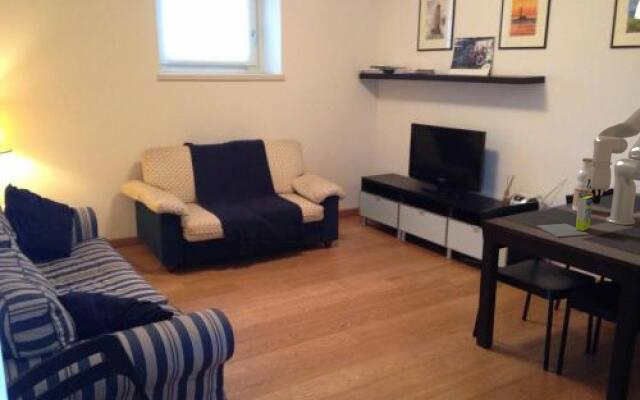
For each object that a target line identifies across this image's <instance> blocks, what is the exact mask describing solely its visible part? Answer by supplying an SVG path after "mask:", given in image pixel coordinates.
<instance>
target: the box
mask: <svg viewBox="0 0 640 400" xmlns="http://www.w3.org/2000/svg"><path fill="white" fill-rule="evenodd" d="M581 194H583V195H582V196H581ZM592 199H593V196H585V192H582V193H579V196H578V209H577V211H576V223H575V228H576V230H581V231H584V232H585V231H586V230H588V229H589V228H590V227H591V217H592V216H591V215H592V210H591V208H593V203H592Z"/></svg>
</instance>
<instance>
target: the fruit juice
mask: <svg viewBox="0 0 640 400" xmlns="http://www.w3.org/2000/svg"><path fill="white" fill-rule="evenodd" d="M592 160H593V158H589V157H583V158H582V161H581V162H582V163H581V166H579V170H578V171H577V172H576V175H575V176H576V181H575V184H574V190H573V199H572V208H571V209H572V210H573V211H575V212H577V209H578V196H579V193H582V192H585V196H593V194H592V193H591V192H589V191H587V187H586V179H587V175H588V171H589V169H590V167H592ZM582 195H583V194H581V196H582ZM592 208H593V207H592ZM592 208H591V211H592Z"/></svg>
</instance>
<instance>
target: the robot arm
mask: <svg viewBox="0 0 640 400" xmlns="http://www.w3.org/2000/svg"><path fill="white" fill-rule="evenodd" d="M639 134H640V107H639V108H638V109H636V110H635V111H634V112H633V113H632V114H631V115H630V116H629V117H628V118H626V120H624V121H623V122H619V123H617V124H615V125H611V126H609V127H607V128H605V129H603V130H602V131H601V132H600V133H599V134H598V135H596V137H595V139H593V154H592V159H593V160H592V167H590V169H589V171H588V175H587V179H586V187H587V191H589V192H591V193H592V194H593V199H592V204H595V205H600V204H601V196H603V194H604V193H605V192H608V191H609V188H611V187H610V186H611V183H612V182H611V181H612V170H611V166H612V164H613V163H612V162H611V160H612V154H623V153H625V151H626V150H627V149H628V146H629V144H628V141H627V140H626V139H627V138H633V137H636V136H637V135H639ZM613 168H614V169H613V171H614V186H613V187H614V188H613V192H612V193H613V194H612V201H611V209H610V216H607V217H606V221H607V222H609V223H611V224H615V225H622V226H631V225H634V224H636V220H635V218H636V219H639V218H640V213H634V207H635V199H636V193H637V186H636V183H635V181H639V182H640V136H639V138H638V139H637V140H636V141H635V143H634V144H633V146H632V147H631V148H630V149H629V152H628V154H627V158H620V159H618V160H616V162H615V164H614V167H613Z"/></svg>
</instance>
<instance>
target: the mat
mask: <svg viewBox="0 0 640 400" xmlns="http://www.w3.org/2000/svg"><path fill="white" fill-rule="evenodd" d="M536 226H537V227H536V228H538V227H539V228H538V229H540V228H541V229H540V230H542V231H544V232H546V233H548V234H550V235H551V236H554V237H555V238H569V237H570V238H571V237H581V236H582V237H583V236H589V235H590V234H589V233H588V232H586V231H585V230H584V231H582V230H576V226H573V225H570V224H568V223H556V224H555V223H554V224H541V225H540V224H539V225H536Z"/></svg>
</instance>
